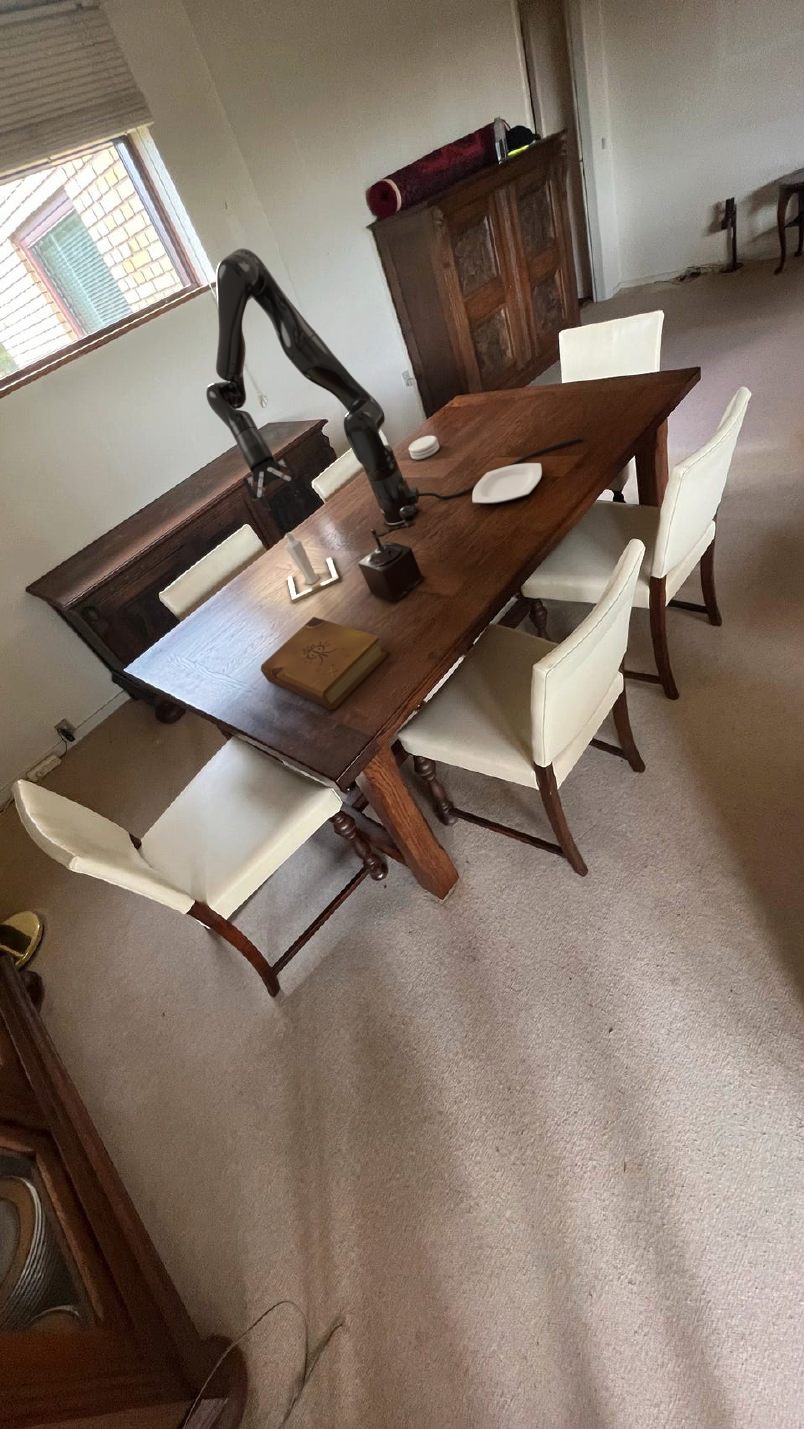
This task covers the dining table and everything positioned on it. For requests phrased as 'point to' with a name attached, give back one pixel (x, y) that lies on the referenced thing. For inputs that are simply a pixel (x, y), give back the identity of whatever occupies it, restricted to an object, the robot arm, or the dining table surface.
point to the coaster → (424, 447)
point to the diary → (323, 662)
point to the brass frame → (316, 588)
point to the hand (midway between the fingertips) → (282, 502)
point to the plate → (507, 483)
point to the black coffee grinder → (392, 564)
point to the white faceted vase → (300, 558)
